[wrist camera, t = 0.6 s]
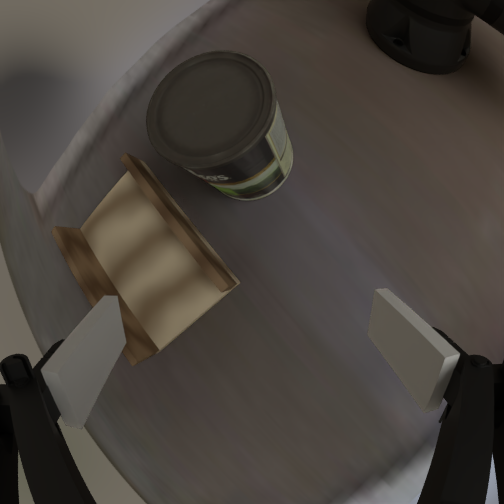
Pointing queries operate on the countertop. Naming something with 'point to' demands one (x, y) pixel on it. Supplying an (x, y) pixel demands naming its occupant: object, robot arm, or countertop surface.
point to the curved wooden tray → (145, 261)
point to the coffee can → (222, 124)
